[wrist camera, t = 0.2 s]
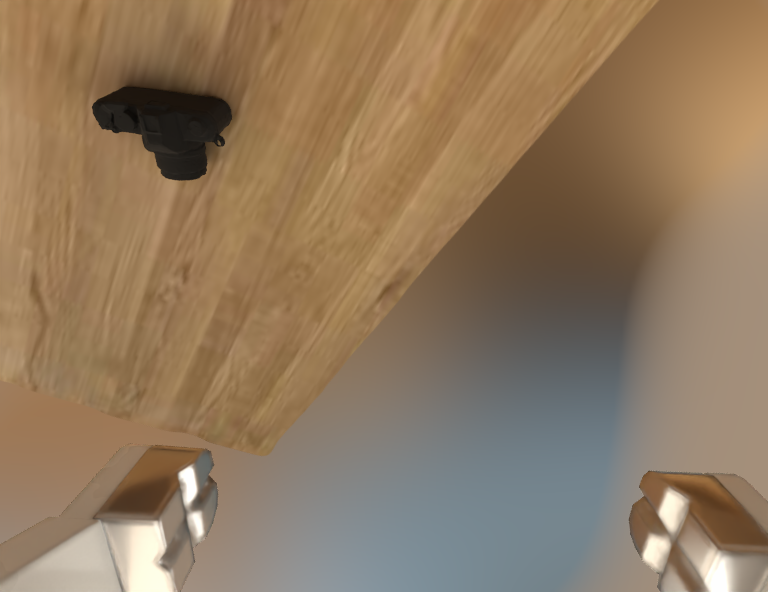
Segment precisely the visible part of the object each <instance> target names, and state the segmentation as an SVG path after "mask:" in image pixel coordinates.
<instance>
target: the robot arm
mask: <svg viewBox="0 0 768 592" xmlns="http://www.w3.org/2000/svg"><path fill="white" fill-rule="evenodd" d="M213 466H214V463H213V458H212V453H211V451H209V450H207V449H202V448H187V447H175V446H162V445H155V446H152V445H140V444H127V445H125V446H123V447H122V448H120V449H119V450H118V451H117V452H116V453H115V454H114V455H113V457H112V458H111V459H110V460H109V461H108V462H107V463H106V464H105V466H104V467H103V468H102V469H101V470H100V471H99V472H98V473H97V474H96V476H95V477H94V478H93V479H92V480H91V481H90V482H89V483H88V485H87V486H86V487H85V488H84V489H83V490H82V491H81V493H79V495H78V496H77V497H76V498H75V499H74V500H73V501H72V502H71V504H70V505H69V506H68V507H67V508H66V509H65V510H64V511H63V513H62V514H61V515H60V516H59V517H48V518H46V519H45V520H43V521H41V522H39V523H37V524H36V525H34V526H32V527H30V528H28V529H27V530H25V531H23V532H21V533H20V534H18V535H16V536H14V537H12V538H10V539H9V540H7V541H5V542H3V543H1V544H0V592H181V590H182V588H183V585H184V583H185V581H186V579H187V577H188V575H189V573H190V571H191V569H192V567H193V565H194V563H195V559H194V553H193V548H194V547H195V546H197V545H198V544H199V543H200V542H202V541H203V540H204V539H205V538H206V537H207V535H208V533H209V531H210V529H211V526H212V524H213V521H214V517H215V514H216V510H217V505H218V489H217V483H216V482H215V481H214V480H213V479H212V478H211V477H210V476H209V473H210V471H211V470H212V468H213ZM639 488H640V489H641V491H642V493H643V495H644V497H642V498H641V499H640V500H639V501H637V502H636V503H635V504H633V506H632V510H631V513H630V517H629V524H630V534H631V537H632V540H633V543H634V546H635V548H636V550H637V552H638V554H639V555H640V557H641V559H642V560H643V562H644V563H645V564H647V565H648V566H649V567H650V568H652V569H653V570H654V571H655V572H656V573H658V574H659V578H658V586H657V587H658V589H659V590H660V592H768V501H767V500H766V499H765V498H764V497H763V496H762V495H761V494H760V493H759V492H758V491H757V490H755V488H754V487H753V486H752V485H751V484H749V483H748V482H747V481H746V480H745V479H743V478H742V477H740V476H738V475H736V474H723V473H704V474H703V473H690V472H689V473H688V472H665V471H648V472H647V473H646V474H645V475H644V476H643V478H642V480H641V483H640V486H639Z"/></svg>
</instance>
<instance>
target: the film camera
mask: <svg viewBox="0 0 768 592" xmlns="http://www.w3.org/2000/svg"><path fill="white" fill-rule="evenodd" d="M92 109H93V114H94V116H95V118H96V120H97V121H98V122H99V125H100V126H101V128H102V129H106V130H112V131H113V132H114V133H119V132H129V133H136V134H141V135H142V139H143V144H144V147H145V148H146V149H147V150H148V151H151V152H154V153H155V158H156V162H157V166H158V167H159V168H160V169H161V174H162V175H163V176H164V177H165V178H168V179H172V180H179V181H180V180H193V179H197V178H200V177H201V176H202V175H205V174H206V171H207V169H206V166H207V157H206V154H205V149H206V146H205V142H214V143H215V144H216V145H217V146H220V145H218V144H217V143H218V142H217V140H219V141H220V142H221V146H224V144H225V140H224V138H223V137H221V136H220V135H219V134H220V133H221V132H222V131H223V129H224V128H225V127H227V126H228V125H229V124H230V121H231V119H232V114H231V109H230V107H229V105H228V104H227V103H226V102H225V101H223V100H222V99H218V98H214V97H205V96H199V95H192V94H184V93H177V92H170V91H163V90H154V89H146V88H135V87H123V88H121V89H119V90H117V91H115V92H113V93H111V94H109V95H107V96H105V97H103V98H100V99H98V100H97V101H96V102H95V103H94V104H93V106H92Z"/></svg>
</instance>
